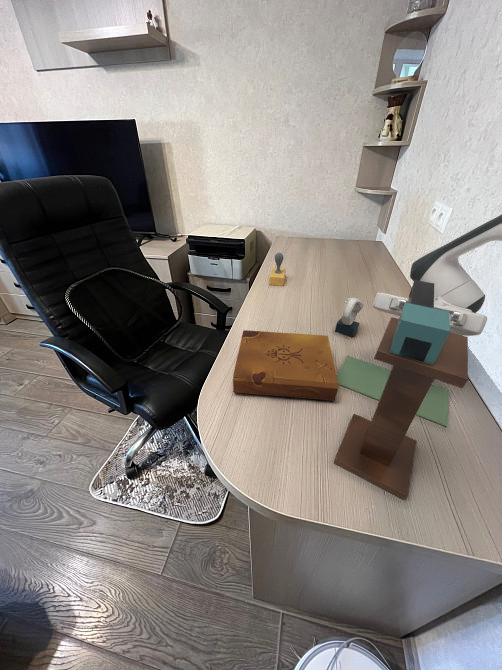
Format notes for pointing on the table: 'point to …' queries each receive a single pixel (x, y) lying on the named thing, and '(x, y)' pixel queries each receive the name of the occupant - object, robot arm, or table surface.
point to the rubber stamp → (278, 272)
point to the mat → (373, 381)
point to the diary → (285, 365)
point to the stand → (398, 414)
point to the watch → (349, 318)
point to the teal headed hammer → (421, 326)
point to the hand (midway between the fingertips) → (428, 309)
